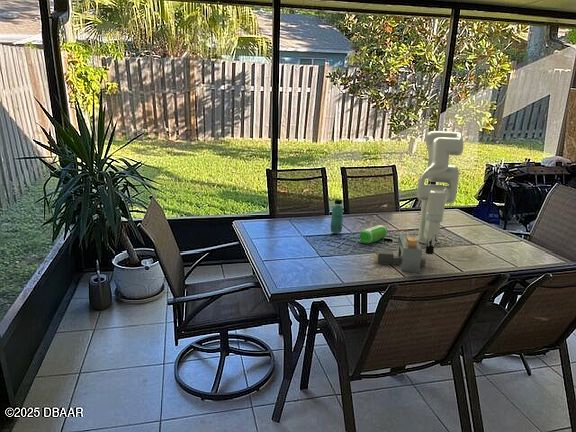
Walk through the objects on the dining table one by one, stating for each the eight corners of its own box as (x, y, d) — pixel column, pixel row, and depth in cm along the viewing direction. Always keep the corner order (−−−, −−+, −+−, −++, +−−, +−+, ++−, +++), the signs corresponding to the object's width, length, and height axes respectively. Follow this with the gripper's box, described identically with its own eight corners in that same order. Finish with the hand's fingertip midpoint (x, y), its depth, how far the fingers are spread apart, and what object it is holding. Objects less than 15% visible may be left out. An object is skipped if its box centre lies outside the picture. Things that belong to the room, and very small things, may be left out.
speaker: (369, 245, 223) (370, 232, 221) (358, 242, 228) (359, 229, 226) (387, 238, 235) (388, 225, 233) (376, 235, 240) (377, 222, 238)
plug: (372, 259, 205) (373, 249, 203) (423, 263, 202) (424, 253, 200) (373, 262, 200) (374, 253, 198) (425, 267, 197) (426, 257, 196)
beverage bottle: (328, 232, 242) (330, 198, 236) (338, 231, 244) (340, 198, 239) (333, 236, 236) (335, 201, 231) (343, 235, 238) (346, 200, 233)
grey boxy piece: (396, 255, 211) (399, 228, 207) (412, 256, 210) (416, 229, 206) (401, 270, 191) (404, 241, 188) (419, 272, 190) (422, 243, 187)
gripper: (423, 211, 201) (418, 247, 206) (428, 221, 186) (423, 259, 192) (439, 212, 200) (434, 248, 205) (446, 222, 185) (440, 260, 191)
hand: (429, 253), depth 199 cm, fingers closed
